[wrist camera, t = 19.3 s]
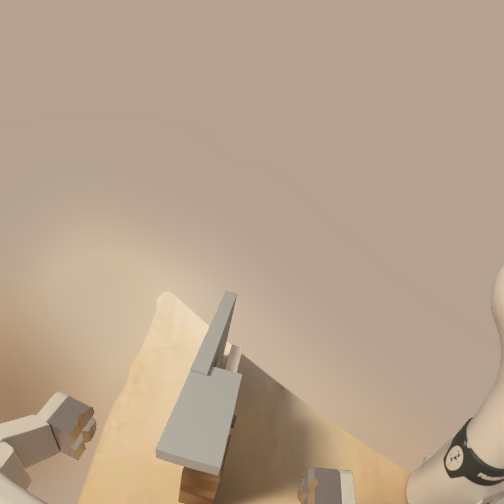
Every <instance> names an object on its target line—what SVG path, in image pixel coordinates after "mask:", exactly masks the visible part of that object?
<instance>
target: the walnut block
mask: <svg viewBox="0 0 504 504" xmlns="http://www.w3.org/2000/svg"><path fill="white" fill-rule="evenodd" d="M230 436H231V435H228V439H227V443H226V447H225V452H224V456H223V460H222V464H221V468H220V471H219V474H218V475H214V474H210V473H206V472H202V471H199V470H195V469H191V468H188V467H184V468H183V471H182V478H181V486H180V493H179V501H178V502H181V503H185V504H212V502H213V499H214V497H215V494H216V491H217V488H218V485H219V483H220V479H221V475H222V471H223V466H224V462H225V458H226V453H227V449H228V445H229V440H230Z"/></svg>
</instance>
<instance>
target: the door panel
mask: <svg viewBox="0 0 504 504" xmlns="http://www.w3.org/2000/svg"><path fill="white" fill-rule="evenodd" d="M242 349H243V348H242V347H238V346H234V345H232V347H231V350H230V354H229V357H228V360H227V363H226V367H225V370H228V371H232V372H236V373H237V369H238V365H239V361H240V357H241V353H242ZM235 420H236V416H235V415H233V418H232V422H231V426H230V428H233V427H234V424H235Z"/></svg>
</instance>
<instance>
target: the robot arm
mask: <svg viewBox="0 0 504 504" xmlns="http://www.w3.org/2000/svg"><path fill="white" fill-rule="evenodd" d="M491 309H492V315H493V319H494V321H495V323H496V326H497V329H498V333H499V337H500V344H501V360H500V367H499V372H498V375H497V378H496V380H495V383H494V385H493V387H492V389H491V391H490V392H489V394H488V396H487V398H486V399H485V401H484V403H483V404H482V406H481V407H480V409H479V410H478V411H477V413H476V414H475V416H474V417H473V418H471V419H469V420H468V421H467V422H466V423H465V424H464V425H463V426H462V427H461V428H460V429H459V432H458V433H457V434H456V435H453V436H452V437H451V438H449V440H447V442H445V443H444V444H443V445H442V446H441V447H440V448H439V449H438V450H437V451H436V452H435V453H430V454H428V455H427V456H426V457H425V458H424V460H423V463H422V465H421V467H419V468H418V469H417V470H416V471H415V472H414V473H413V474H412V475H411V476H410V478H409V480H408V483H407V488H406V495H407V500H408V503H409V504H504V264H503V266H502V267H501V269H500V270H499V272H498V274H497V276H496V278H495V281H494V284H493V288H492V293H491ZM93 414H94V410H93V407H90V406H88V405H86V404H84V403H82V402H80V401H77V400H75V399H74V398H72V397H70V396H68V395H66V394H64V393H62V392H60V391H59V392H57V393H55V394H54V395H53V397H52V398H51V399H50V400H49V401H48V403H47V404H46V405H45V406H44V407H43V408H42V409H41V411H40V412H39V413H38V414H37V416H35V415H30V416H27V417H23V418H20V419H16V420H13V421H9V422H5V423H2V424H0V504H47V503H46V502H44V501H42V500H41V499H39V498H38V497H36V496H34V495H33V494H31V493H30V492H28V491H27V490H26V489H27V488H28V486H29V485H30V483H31V481H32V479H31V477H30V475H29V473H28V472H27V471H26V469H25V468H27V467H29V466H31V465H33V464H36V463H38V462H40V461H42V460H45V459H47V458H49V457H51V456H53V455H55V454H57V453H59V452H60V451H61V452H63V453H65V454H67V455H69V456H71V457H73V458H75V459H77V460H79V458H80V457H81V455H82V454H83V452H84V451H85V449H86V448H85V443H86V442H89V441H91V439H92V438H93V436H94V434H95V430H96V420H95V419H94V418H93ZM298 499H299V501H300V502H301V504H356V498H355V489H354V481H353V473H352V472H351V471H350V470H337V469H322V468H311V469H310V470H309V471H308V476H307V477H305V478H303V480H302V481H301V484H300V486H299V491H298Z"/></svg>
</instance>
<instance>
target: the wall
mask: <svg viewBox="0 0 504 504" xmlns="http://www.w3.org/2000/svg"><path fill="white" fill-rule="evenodd" d="M236 296H237V294H236V293H232V292H228V291H226V292H225V294H224V296H223V298H222V301H221V303H220V305H219V307H218V310H217V312H216V314H215V316H214V318H213V320H212V323H211V325H210V327H209V329H208V332H207V334H206V336H205V338H204V340H203V343H202V345H201V347H200V349H199V351H198V354H197V356H196V358H195V360H194V363H193V365H192V367H191V370H190V373H189V375H188V378H187V380H186V382H185V384H184V387H183V389H182V391H181V393H180V396H179V398H178V400H177V402H176V405H175V407H174V409H173V411H172V414H171V416H170V418H169V421H168V423H167V425H166V427H165V430H164V432H163V434H162V436H161V439H160V441H159V443H158V445H157V448H156V458H159V459H162V460H165V461H168V462H171V463H174V464H178V465H181V466H184V467H188V468H191V469H195V470H199V471H202V472H206V473H210V474H214V475H218V474H219V471H220V468H221V464H222V460H223V456H224V452H225V447H226V443H227V439H228V435H229V430H230V426H231V422H232V418H233V413H234V409H235V405H236V400H237V396H238V391H239V387H240V383H241V378H242V374H240V373H236V372H232V371H228V370H224V369H221V368H220V365H221V362H222V359H223V355H224V350H225V346H226V341H227V337H228V332H229V328H230V323H231V319H232V314H233V310H234V305H235V301H236Z"/></svg>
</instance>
